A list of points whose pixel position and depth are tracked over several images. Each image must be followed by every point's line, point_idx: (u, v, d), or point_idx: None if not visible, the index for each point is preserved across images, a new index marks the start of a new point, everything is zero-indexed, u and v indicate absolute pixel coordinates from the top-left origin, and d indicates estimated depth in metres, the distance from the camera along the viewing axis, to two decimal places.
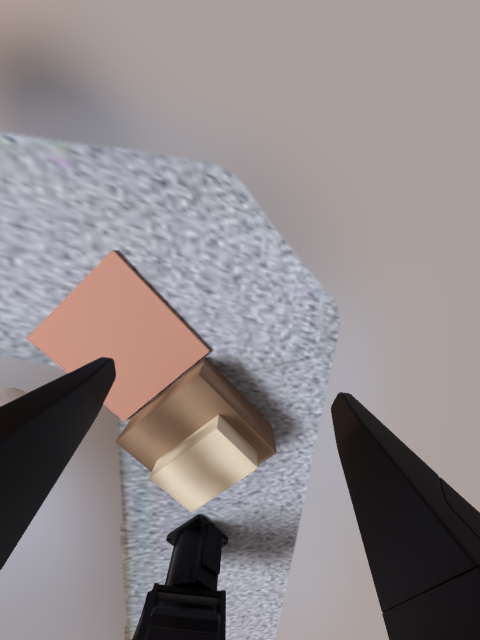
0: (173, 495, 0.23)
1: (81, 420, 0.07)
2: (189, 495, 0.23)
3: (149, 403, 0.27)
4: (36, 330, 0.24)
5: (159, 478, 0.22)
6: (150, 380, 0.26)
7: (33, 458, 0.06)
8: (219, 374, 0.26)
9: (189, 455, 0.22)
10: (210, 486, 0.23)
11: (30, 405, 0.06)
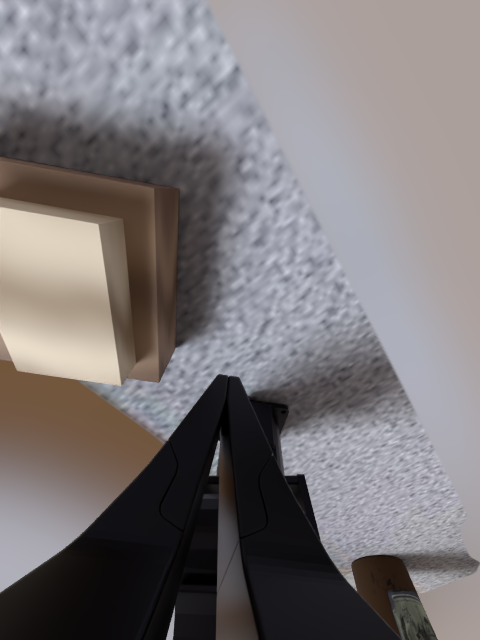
0: (71, 375, 0.13)
1: (217, 439, 0.07)
2: (85, 362, 0.13)
3: None
4: None
5: (24, 362, 0.13)
6: None
7: (204, 480, 0.06)
8: (5, 157, 0.13)
9: None
10: (87, 327, 0.11)
11: (200, 429, 0.06)
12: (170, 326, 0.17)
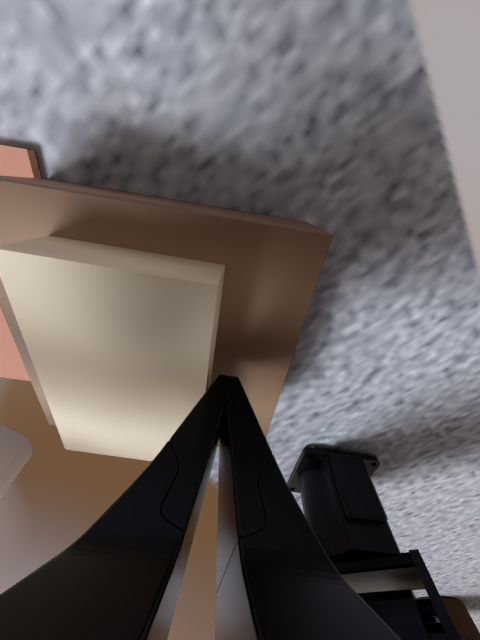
0: (134, 455, 0.10)
1: (218, 439, 0.07)
2: (157, 442, 0.10)
3: None
4: None
5: (76, 441, 0.10)
6: None
7: (205, 480, 0.06)
8: (96, 187, 0.10)
9: (50, 368, 0.08)
10: (168, 407, 0.09)
11: (201, 429, 0.06)
12: None
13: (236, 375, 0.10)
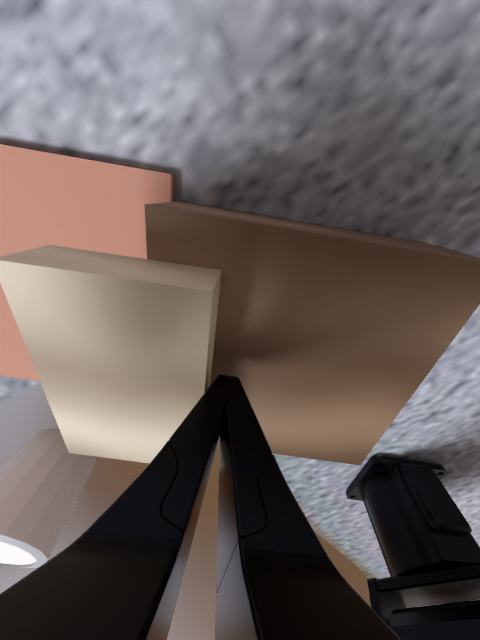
0: (136, 458, 0.10)
1: (217, 439, 0.07)
2: (158, 445, 0.10)
3: None
4: None
5: (79, 445, 0.10)
6: None
7: (205, 480, 0.06)
8: (231, 210, 0.10)
9: (52, 374, 0.08)
10: (168, 410, 0.09)
11: (200, 429, 0.06)
12: None
13: (362, 393, 0.11)
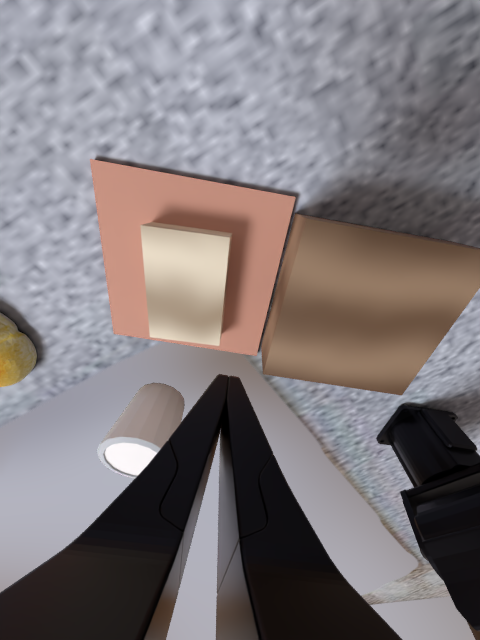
0: None
1: (217, 439, 0.07)
2: None
3: (268, 320, 0.21)
4: (113, 320, 0.21)
5: None
6: (250, 293, 0.19)
7: (204, 480, 0.06)
8: None
9: None
10: None
11: (200, 429, 0.06)
12: None
13: (411, 337, 0.16)
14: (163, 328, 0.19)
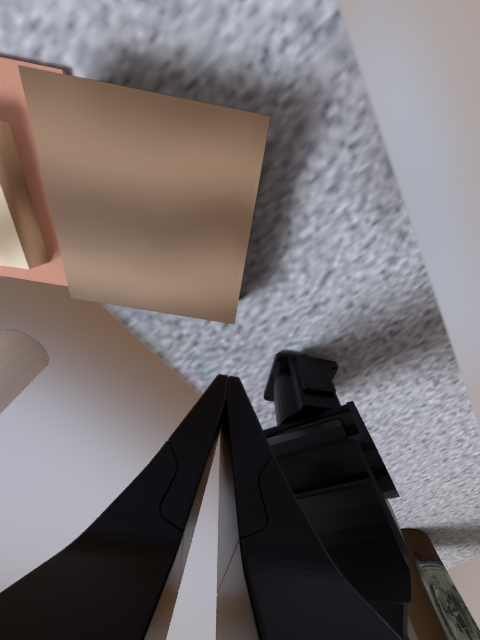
0: None
1: (217, 439, 0.07)
2: None
3: None
4: None
5: None
6: None
7: (204, 480, 0.06)
8: None
9: None
10: None
11: (200, 428, 0.06)
12: None
13: (212, 243, 0.14)
14: None
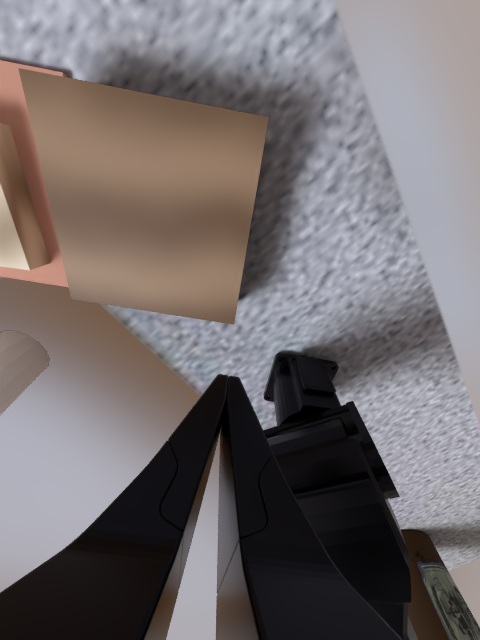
0: None
1: (217, 439, 0.07)
2: None
3: None
4: None
5: None
6: None
7: (204, 480, 0.06)
8: None
9: None
10: None
11: (200, 429, 0.06)
12: None
13: (211, 243, 0.14)
14: None
